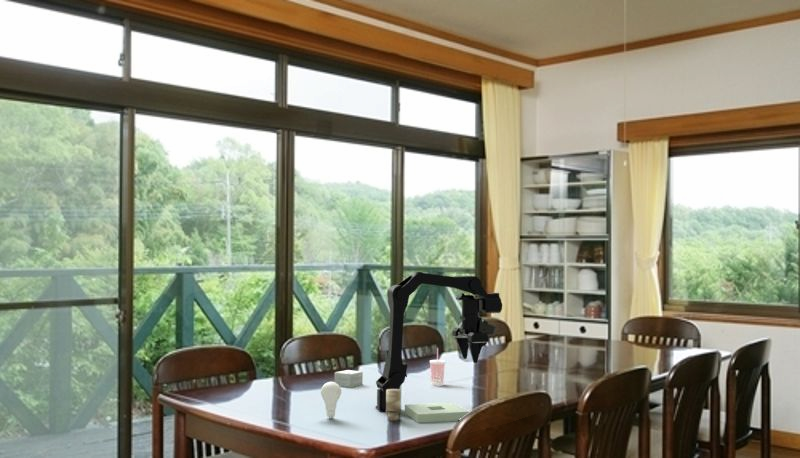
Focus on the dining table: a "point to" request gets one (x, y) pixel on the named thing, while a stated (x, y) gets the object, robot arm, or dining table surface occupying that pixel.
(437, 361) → the beverage cup
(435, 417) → the board
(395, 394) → the peg
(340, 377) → the small box
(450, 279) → the robot arm
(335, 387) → the lightbulb
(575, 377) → the dining table surface
